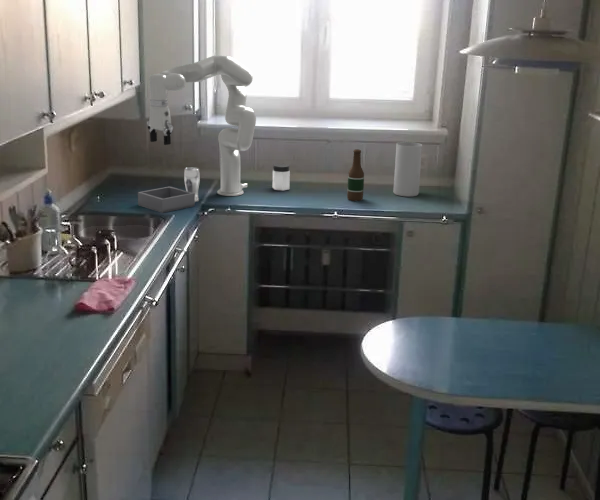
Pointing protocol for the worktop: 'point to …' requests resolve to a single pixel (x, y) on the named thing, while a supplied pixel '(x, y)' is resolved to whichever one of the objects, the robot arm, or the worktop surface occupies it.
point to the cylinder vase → (407, 169)
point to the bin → (166, 199)
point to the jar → (281, 177)
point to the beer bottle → (355, 178)
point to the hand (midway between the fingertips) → (160, 143)
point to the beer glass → (192, 181)
